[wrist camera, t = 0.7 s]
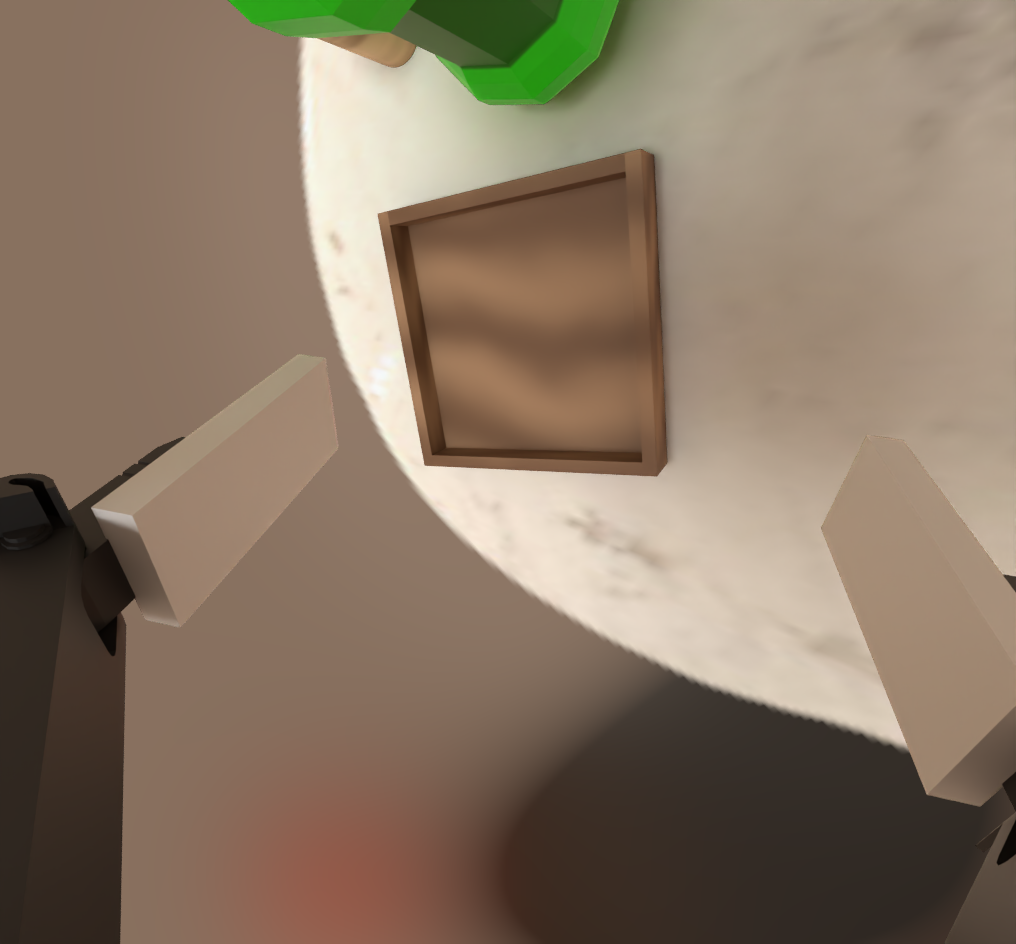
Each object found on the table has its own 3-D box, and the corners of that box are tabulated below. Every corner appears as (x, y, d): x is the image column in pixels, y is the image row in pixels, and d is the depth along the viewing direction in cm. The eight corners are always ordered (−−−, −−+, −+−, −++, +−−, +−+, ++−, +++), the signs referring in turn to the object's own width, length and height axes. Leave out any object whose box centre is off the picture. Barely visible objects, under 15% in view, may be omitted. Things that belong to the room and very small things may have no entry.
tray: (401, 215, 36) (377, 213, 34) (654, 155, 28) (640, 148, 26) (443, 455, 42) (424, 465, 40) (667, 462, 33) (657, 476, 32)
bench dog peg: (364, 4, 33) (249, -54, 26) (412, -20, 31) (301, -89, 25) (377, 75, 34) (269, 35, 27) (424, 56, 32) (320, 9, 26)
